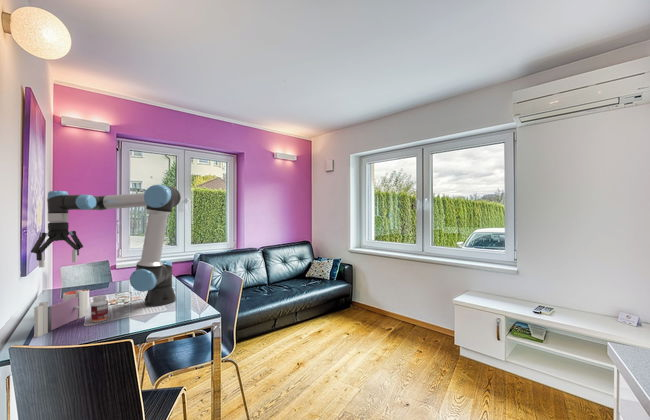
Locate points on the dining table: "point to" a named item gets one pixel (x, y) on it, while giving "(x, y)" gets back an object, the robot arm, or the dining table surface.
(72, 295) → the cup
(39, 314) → the wall
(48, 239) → the robot arm
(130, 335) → the dining table surface
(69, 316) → the door
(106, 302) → the pill bottle
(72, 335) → the dining table surface
